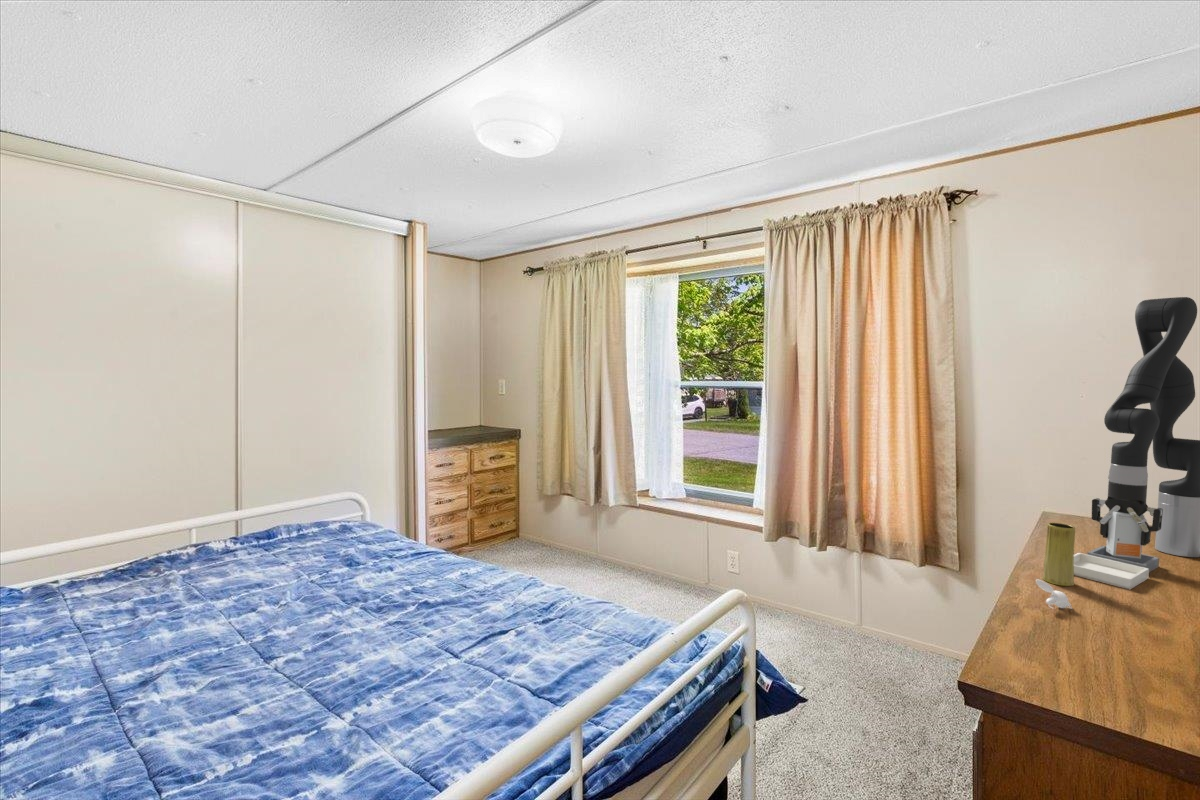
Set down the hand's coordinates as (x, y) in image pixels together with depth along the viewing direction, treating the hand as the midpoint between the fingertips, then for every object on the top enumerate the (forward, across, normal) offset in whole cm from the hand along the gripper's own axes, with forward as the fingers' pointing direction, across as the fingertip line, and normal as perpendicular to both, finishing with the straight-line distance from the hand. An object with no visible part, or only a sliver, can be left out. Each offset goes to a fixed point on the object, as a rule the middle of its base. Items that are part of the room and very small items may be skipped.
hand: (1124, 540), depth 148 cm
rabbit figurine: (+6, -1, +51) cm, 51 cm away
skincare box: (+4, 0, 0) cm, 4 cm away
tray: (+6, 0, +15) cm, 17 cm away
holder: (+6, 0, 0) cm, 6 cm away
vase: (+6, +4, +31) cm, 32 cm away
